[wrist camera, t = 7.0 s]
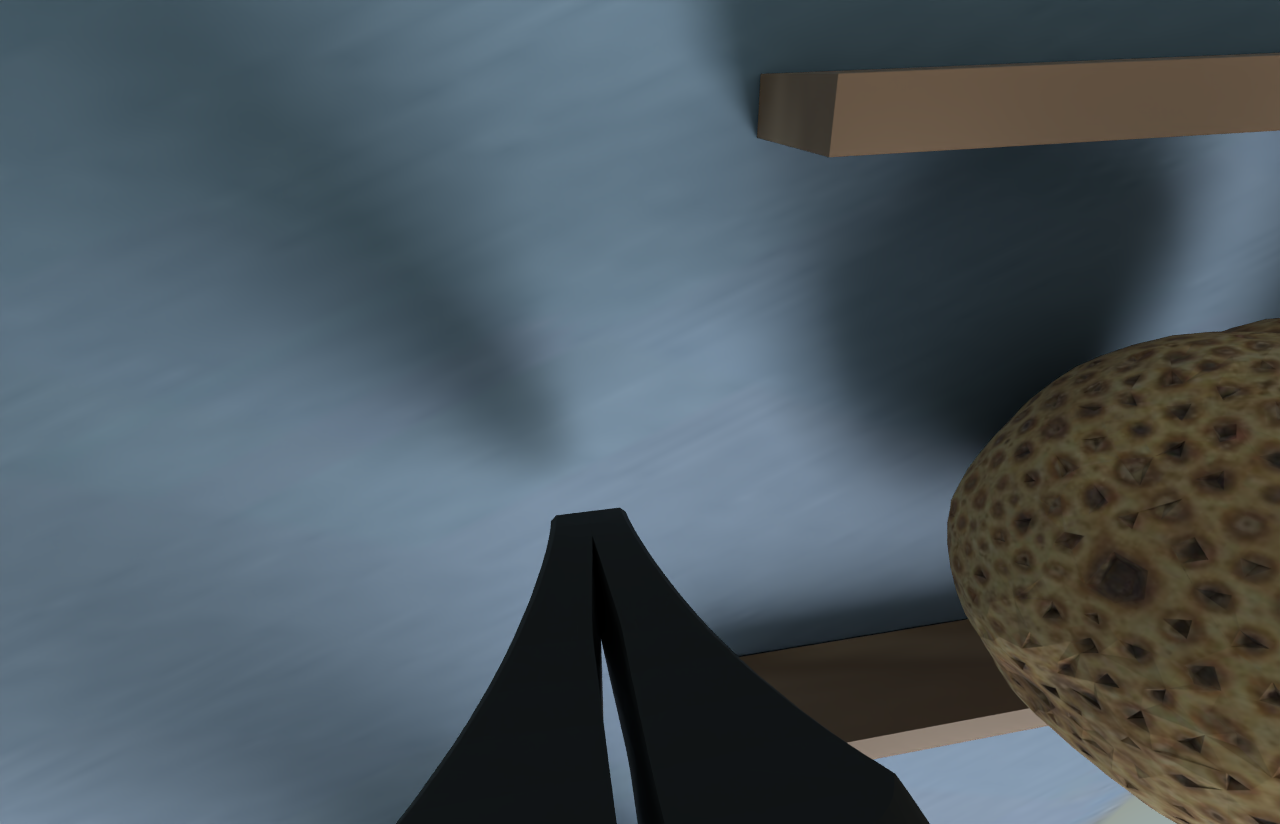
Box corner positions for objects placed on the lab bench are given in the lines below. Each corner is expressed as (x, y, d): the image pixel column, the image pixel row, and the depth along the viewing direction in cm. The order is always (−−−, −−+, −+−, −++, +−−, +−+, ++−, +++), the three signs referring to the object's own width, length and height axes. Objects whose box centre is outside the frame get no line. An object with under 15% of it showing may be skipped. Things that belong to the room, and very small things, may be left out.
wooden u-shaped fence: (1189, 602, 20) (1368, 745, 16) (726, 681, 18) (788, 868, 14) (1512, 43, 12) (2039, 26, 8) (760, 74, 10) (926, 74, 6)
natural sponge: (800, 547, 16) (1117, 1092, 7) (956, 206, 12) (2003, 528, 4) (1067, 569, 18) (1546, 1006, 10) (1271, 288, 14) (2368, 603, 6)
